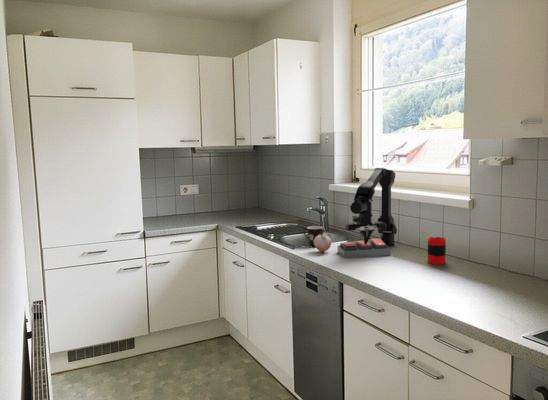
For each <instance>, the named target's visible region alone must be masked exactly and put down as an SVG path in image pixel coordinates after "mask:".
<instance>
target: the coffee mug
mask: <svg viewBox="0 0 548 400" xmlns="http://www.w3.org/2000/svg"><path fill="white" fill-rule="evenodd" d="M306 230H307V234H306V233H305V231H306ZM322 233H323V234H324V226H319V225H312V226H307V227H306V228H304V229H303V235H304V236H305V238H307V239H308V244H309V247H310V248H316V247H315V245H314V239H315V237H316V236H318V235H319V234H322ZM311 246H312V247H311Z"/></svg>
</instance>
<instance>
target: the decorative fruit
mask: <svg viewBox="0 0 548 400" xmlns="http://www.w3.org/2000/svg"><path fill="white" fill-rule="evenodd" d="M314 245H315V247H314V248H316V249H317V250H318V251H319V252H321V253H324V252H326V251H328V250H329V249H330V248H331V245H332V239H331V238H330V236H328V235H327V234H324V232H323V233H322V234H319V235H318V236H316V237H315V239H314Z"/></svg>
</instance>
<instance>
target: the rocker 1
mask: <svg viewBox="0 0 548 400" xmlns="http://www.w3.org/2000/svg"><path fill="white" fill-rule="evenodd" d="M341 243H342V244H343V245H344V246H355V242H341Z"/></svg>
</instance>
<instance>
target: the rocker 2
mask: <svg viewBox="0 0 548 400" xmlns="http://www.w3.org/2000/svg"><path fill="white" fill-rule="evenodd" d="M370 241H371V242H372V243H373V244H375V245H376V246H377V245H385V244H384V242H383V241H382V240H381V239H380V237H379V238H371V239H370Z"/></svg>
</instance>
